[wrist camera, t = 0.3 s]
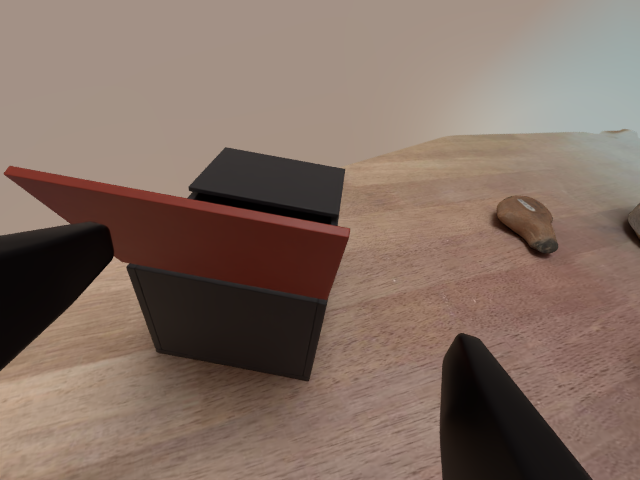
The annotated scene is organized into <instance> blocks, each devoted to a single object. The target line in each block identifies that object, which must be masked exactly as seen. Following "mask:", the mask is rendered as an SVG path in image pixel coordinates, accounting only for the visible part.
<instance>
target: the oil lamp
mask: <svg viewBox="0 0 640 480" xmlns="http://www.w3.org/2000/svg"><path fill="white" fill-rule="evenodd" d="M497 217H498V218H499V220H500V221H501V222H503V223H504V224H505V225H506V226H508V227H509V228H511V229H512V230H513V231H514V232H516V233H517V234H519V235H520V236H521V237H523V238H524V239H525V240H526V241H527V242H528V244H529V246H530V247H531V248H533V249H536V250H538V251H540V252H541V253H553V252H555V251H556V250H557V249H558V243H557V240H556V237H555V233H554V230H553V227H552V225H551V223H552V220H553V217H552V215H551V213H550V211H549V210H548V209H547V208H546V207H545V206H544V205H543V204H542V203H540V202H539V201H537V200H535V199H533V198H530V197H526V196H511V197H508V198H506V199H504V200H503V201H501V202H500V203H499V204H498V206H497Z"/></svg>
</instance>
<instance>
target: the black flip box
mask: <svg viewBox="0 0 640 480" xmlns="http://www.w3.org/2000/svg"><path fill="white" fill-rule="evenodd" d="M344 174H345V169H342V168H336V167H330V166H325V165H320V164H314V163H309V162H303V161H298V160H292V159H286V158H281V157H276V156H270V155H264V154H259V153H254V152H248V151H243V150H237V149H232V148H224V150H223V151H222V152H221V153H220V154H219V155H218V156H217V157H216V158H215V159H214V160H213V161H212V162H211V163H210V164H209V166H208V167H207V168H206V169H205V170H204V171H203V172H202V173H201V174H200V175H199V176H198V177H197V178H196V179H195V181H194V182H193V183H192V184H191V185H190V186H189V191H192V193H191V195H190V196H189V197H188V198H187V199H193V200H198V201H204V202H209V203H214V204H220V205H225V206H231V207H236V208H242V209H247V210H252V211H258V212H263V213H269V214H274V215H280V216H285V217H290V218H296V219H301V220H307V221H312V222H318V223H323V224H329V225H334V226H338V219H339V211H340V204H341V197H342V189H343V182H344ZM126 268H127V271H128V274H129V276H130V279H131V282H132V285H133V288H134V290H135V293H136V296H137V299H138V301H139V304H140V307H141V310H142V313H143V315H144V318H145V321H146V324H147V326H148V329H149V332H150V335H151V338H152V340H153V343H154V346H155V348H156V351H157V352H159V353H164V354H169V355H174V356H180V357H185V358H190V359H196V360H201V361H206V362H211V363H217V364H222V365H227V366H232V367H238V368H243V369H248V370H254V371H259V372H264V373H269V374H275V375H280V376H285V377H290V378H296V379H301V380H306V381H309V379H310V375H311V370H312V366H313V362H314V358H315V353H316V349H317V345H318V340H319V336H320V332H321V328H322V323H323V319H324V315H325V310H326V306H327V300H328V299H327V300H323V299H318V298H313V297H307V296H302V295H297V294H291V293H286V292H281V291H275V290H270V289H265V288H259V287H254V286H249V285H243V284H238V283H232V282H227V281H222V280H216V279H211V278H206V277H200V276H195V275H190V274H184V273H179V272H174V271H168V270H163V269H158V268H152V267H147V266H141V265H136V264H131V263H129V265H128V266H127V267H126Z"/></svg>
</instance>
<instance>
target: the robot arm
mask: <svg viewBox="0 0 640 480" xmlns="http://www.w3.org/2000/svg"><path fill="white" fill-rule="evenodd" d="M113 257H114V247H113V242H112V238H111V233H110V230H109V228H108V227H107V226H106V225H103V224H100V223H97V222H92V221H89V222H82V223H76V224H70V225H64V226H57V227H52V228H45V229H39V230H33V231H27V232H20V233H15V234H8V235H2V236H0V371H1V370H2V369H3V368H4V367H5V366H6V365H7V364H9V363H10V362H11V361H12V360H13V359H14V358H15V357H16V356H17V355H18V354H19V353H20V352H21V351H23V350H24V349H25V348H26V347H27V346H28V345H29V344H30V343H31V342H32V341H33V340H34V339H35V338H37V337H38V336H39V335H40V334H41V333H42V332H43V331H44V330H45V329H46V328H47V327H48V326H49V325H51V324H52V323H53V322H54V321H55V320H56V319H57V318H58V317H59V316H60V315H61V314H62V313H63V312H64V311H65V310H67V309H68V308H69V307H70V306H71V305H72V304H73V302H74V301H75V300H76V299H77V298H78V297H79V296H80V295H81V294H82V293H83V292H84V290H85V289H86V288H87V287H88V286H89V285H90V284H91V283H92V282H93V281H94V279H95V278H96V277H97V276H98V275H99V274H100V273H101V272H102V271H103V269H104V268H105V267H106V266H107V265H108V264H109V263H110V262H111V260H112V259H113ZM440 449H441V463H442V478H443V480H593V479H592V478H591V477H590V476H589V474H588V473H587V472H586V471H585V469H584V468H583V467H582V466H581V465H580V463H579V462H578V461H577V460H576V458H575V457H574V456H573V455H572V453H571V452H570V451H569V450H568V448H567V447H566V446H565V445H564V443H563V442H562V441H561V440H560V438H559V437H558V436H557V435H556V433H555V432H554V431H553V430H552V428H551V427H550V426H549V425H548V423H547V422H546V421H545V420H544V418H543V417H542V416H541V415H540V413H539V412H538V411H537V410H536V408H535V407H534V406H533V405H532V404H531V402H530V401H529V400H528V399H527V397H526V396H525V395H524V394H523V392H522V391H521V390H520V389H519V387H518V386H517V385H516V384H515V382H514V381H513V380H512V379H511V377H510V376H509V375H508V374H507V372H506V371H505V370H504V369H503V367H502V366H501V365H500V364H499V362H498V361H497V360H496V359H495V357H494V356H493V355H492V354H491V352H490V351H489V350H488V349H487V347H486V346H485V345H484V344H483V342H482V341H481V340H480V339H479V338H477V337H474V336H471V335H467V334H464V333H460V334H458V335H457V336H456V337H455V339H454V341H453V342H452V344H451V346H450V348H449V349H448V351H447V353H446V354H445V356H444V359H443V364H442V384H441V407H440Z"/></svg>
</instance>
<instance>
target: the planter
mask: <svg viewBox="0 0 640 480" xmlns="http://www.w3.org/2000/svg"><path fill="white" fill-rule="evenodd" d="M628 221H629V224H630V225H631V227H632V228H633V229H634V230H635V233H636V235H637V236H638V238H639V239H640V203H639V204H638V205H637V206H636V208H635V209H634V210H633V211H632V212H631V213H630V214H629V216H628Z"/></svg>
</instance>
